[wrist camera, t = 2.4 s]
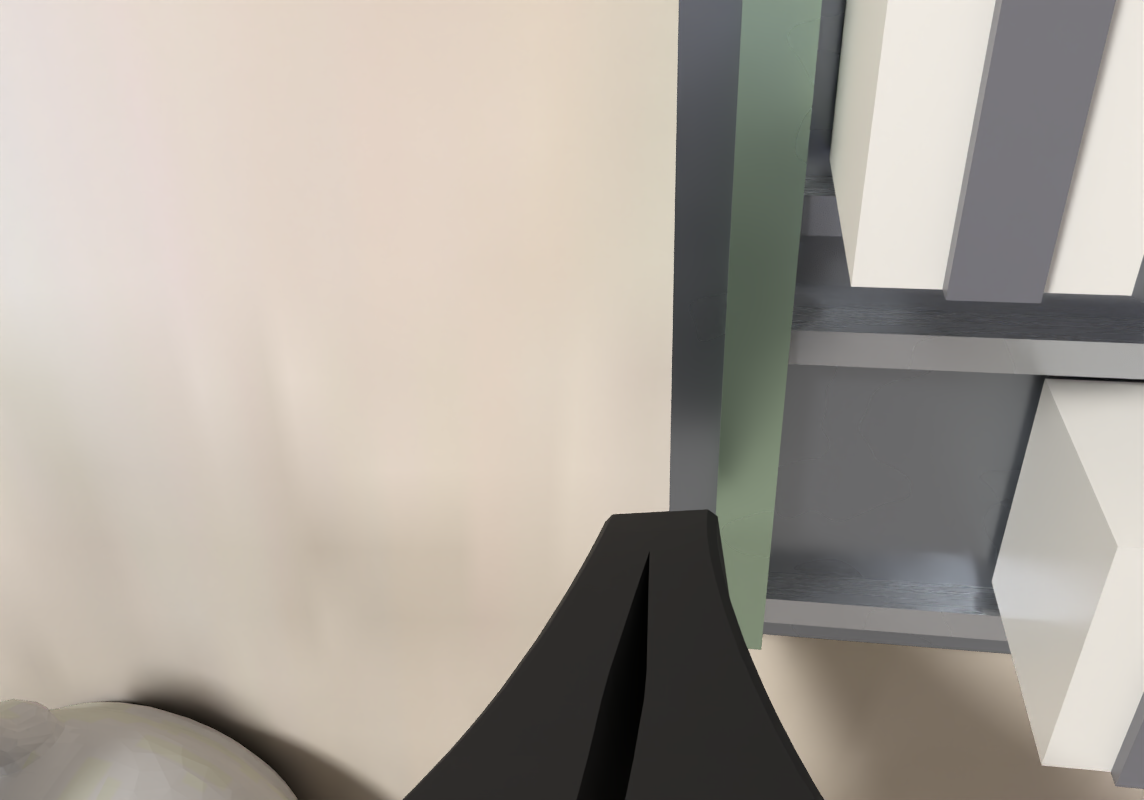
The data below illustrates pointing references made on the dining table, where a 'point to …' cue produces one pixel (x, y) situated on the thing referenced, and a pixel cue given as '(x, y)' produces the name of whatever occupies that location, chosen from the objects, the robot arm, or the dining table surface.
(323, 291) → the dining table surface
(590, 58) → the dining table surface
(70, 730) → the teacup
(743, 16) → the panel
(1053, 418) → the breaker
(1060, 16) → the breaker
